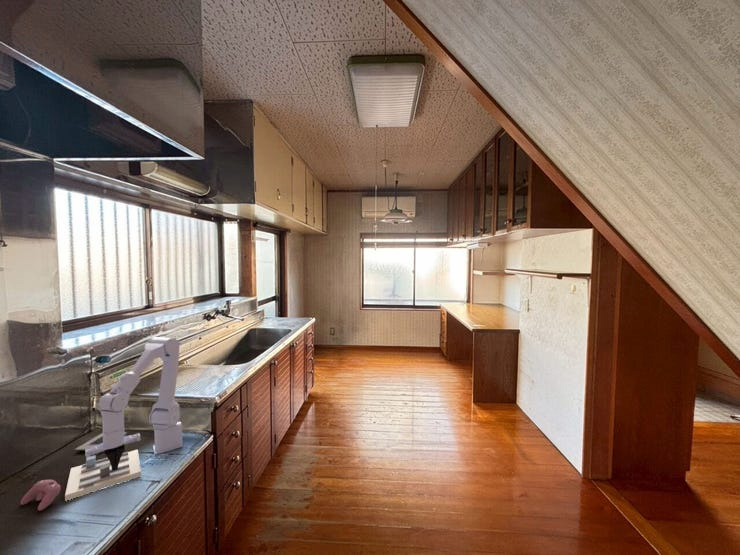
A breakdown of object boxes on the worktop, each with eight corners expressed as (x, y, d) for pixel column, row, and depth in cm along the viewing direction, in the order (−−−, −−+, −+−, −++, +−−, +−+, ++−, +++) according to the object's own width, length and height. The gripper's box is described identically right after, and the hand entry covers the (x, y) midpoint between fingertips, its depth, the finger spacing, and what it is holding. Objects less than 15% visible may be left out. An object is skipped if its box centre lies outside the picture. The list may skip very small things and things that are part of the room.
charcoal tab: (109, 472, 111) (109, 463, 111) (109, 475, 109) (109, 466, 109) (100, 475, 109) (100, 466, 109) (100, 478, 107) (100, 469, 107)
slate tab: (95, 463, 116) (95, 455, 116) (95, 466, 114) (95, 458, 114) (86, 466, 115) (86, 457, 115) (86, 469, 113) (86, 460, 113)
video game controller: (55, 509, 99) (67, 482, 102) (37, 511, 95) (50, 483, 98) (35, 502, 102) (47, 476, 105) (17, 504, 98) (30, 477, 101)
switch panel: (137, 454, 126) (137, 447, 126) (140, 477, 112) (140, 469, 112) (71, 473, 114) (71, 465, 114) (65, 501, 100) (64, 492, 100)
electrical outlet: (101, 454, 127) (101, 448, 127) (75, 454, 128) (74, 448, 127) (127, 437, 141) (127, 431, 140) (102, 437, 141) (102, 432, 141)
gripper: (136, 418, 118) (137, 455, 118) (83, 433, 108) (84, 474, 108) (141, 424, 114) (142, 463, 114) (86, 440, 103) (87, 483, 103)
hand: (114, 469), depth 110 cm, fingers closed
